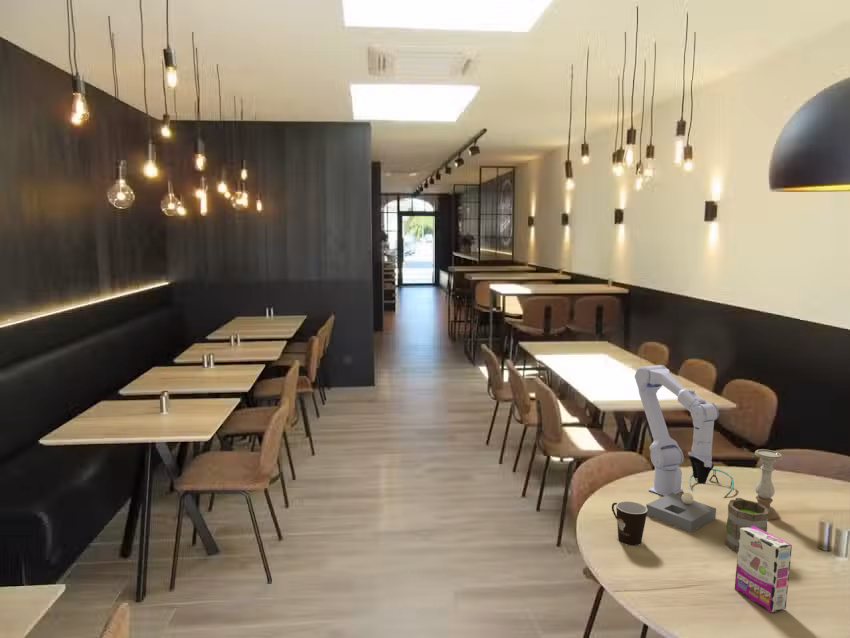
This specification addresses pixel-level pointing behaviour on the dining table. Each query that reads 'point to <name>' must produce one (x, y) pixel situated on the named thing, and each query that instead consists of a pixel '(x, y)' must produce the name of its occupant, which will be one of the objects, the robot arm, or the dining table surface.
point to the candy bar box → (763, 568)
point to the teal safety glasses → (717, 480)
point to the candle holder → (767, 480)
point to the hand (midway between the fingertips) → (699, 480)
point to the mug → (744, 519)
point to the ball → (687, 498)
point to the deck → (681, 512)
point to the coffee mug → (630, 521)
